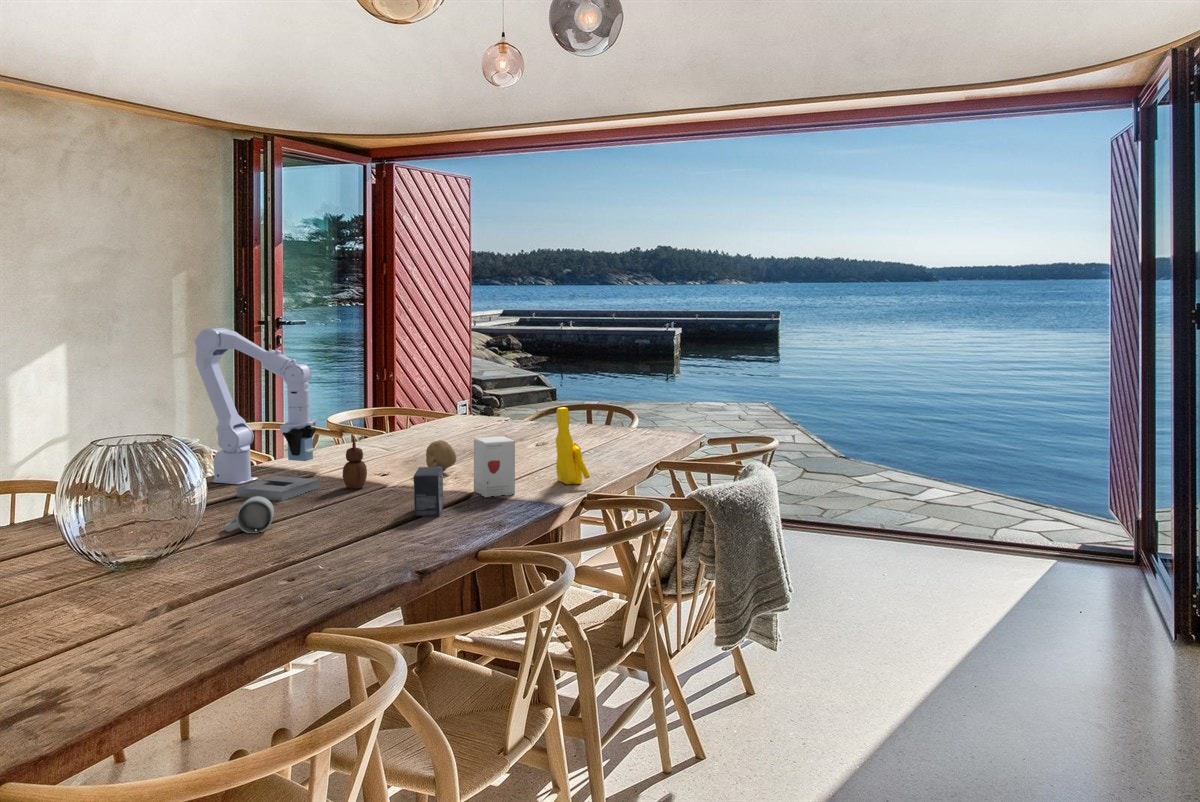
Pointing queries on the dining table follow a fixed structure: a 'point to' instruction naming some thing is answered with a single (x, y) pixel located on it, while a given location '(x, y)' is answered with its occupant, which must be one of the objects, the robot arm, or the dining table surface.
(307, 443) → the block
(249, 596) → the dining table surface
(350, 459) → the wooden figurine
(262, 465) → the dining table surface
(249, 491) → the plate
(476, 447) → the supplement box
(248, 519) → the ceramic mug
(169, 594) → the dining table surface
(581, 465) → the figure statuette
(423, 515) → the small box
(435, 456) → the natural sponge
